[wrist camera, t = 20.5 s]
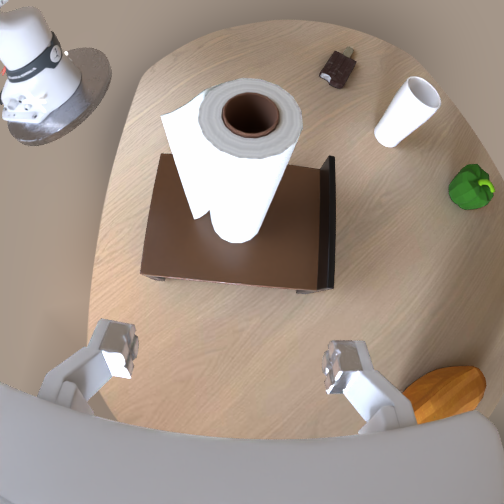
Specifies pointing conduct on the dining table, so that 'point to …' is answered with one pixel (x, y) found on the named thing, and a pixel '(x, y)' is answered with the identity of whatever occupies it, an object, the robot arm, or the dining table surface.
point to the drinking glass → (407, 111)
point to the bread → (446, 393)
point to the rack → (252, 251)
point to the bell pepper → (471, 188)
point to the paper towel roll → (234, 151)
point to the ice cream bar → (338, 68)
